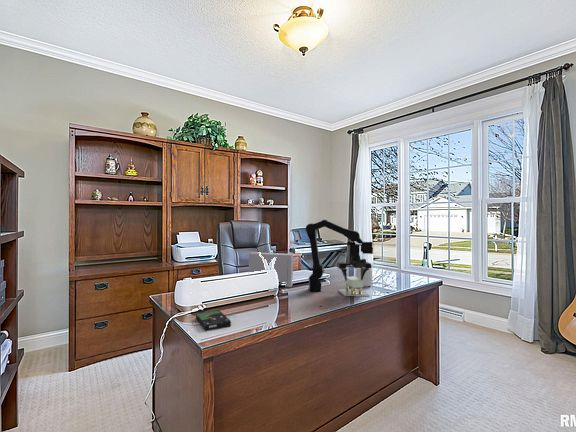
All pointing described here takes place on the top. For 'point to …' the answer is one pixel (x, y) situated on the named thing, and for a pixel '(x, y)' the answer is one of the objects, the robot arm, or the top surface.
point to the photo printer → (365, 276)
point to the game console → (281, 265)
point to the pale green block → (354, 282)
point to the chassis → (353, 291)
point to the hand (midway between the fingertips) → (353, 280)
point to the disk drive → (213, 320)
